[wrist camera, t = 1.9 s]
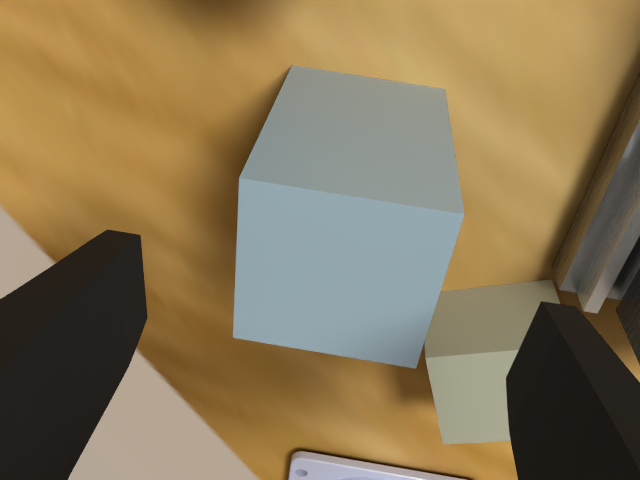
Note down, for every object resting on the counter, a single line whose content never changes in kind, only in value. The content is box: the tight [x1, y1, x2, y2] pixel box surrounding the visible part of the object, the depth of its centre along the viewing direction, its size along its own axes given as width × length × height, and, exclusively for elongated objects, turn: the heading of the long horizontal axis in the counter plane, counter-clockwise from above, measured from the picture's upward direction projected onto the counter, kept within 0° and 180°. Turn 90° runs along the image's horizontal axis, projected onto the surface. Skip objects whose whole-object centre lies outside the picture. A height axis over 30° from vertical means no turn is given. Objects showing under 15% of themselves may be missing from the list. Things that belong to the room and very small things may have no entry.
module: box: [233, 65, 465, 369], centre depth 14 cm, size 4×4×6 cm
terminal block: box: [425, 279, 560, 444], centre depth 19 cm, size 4×4×3 cm
